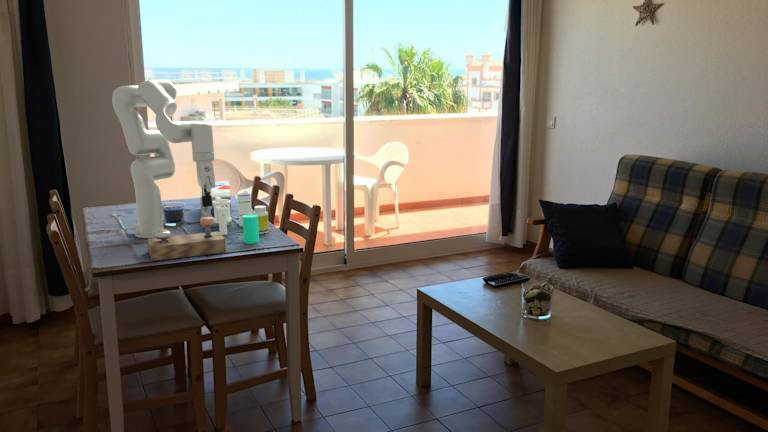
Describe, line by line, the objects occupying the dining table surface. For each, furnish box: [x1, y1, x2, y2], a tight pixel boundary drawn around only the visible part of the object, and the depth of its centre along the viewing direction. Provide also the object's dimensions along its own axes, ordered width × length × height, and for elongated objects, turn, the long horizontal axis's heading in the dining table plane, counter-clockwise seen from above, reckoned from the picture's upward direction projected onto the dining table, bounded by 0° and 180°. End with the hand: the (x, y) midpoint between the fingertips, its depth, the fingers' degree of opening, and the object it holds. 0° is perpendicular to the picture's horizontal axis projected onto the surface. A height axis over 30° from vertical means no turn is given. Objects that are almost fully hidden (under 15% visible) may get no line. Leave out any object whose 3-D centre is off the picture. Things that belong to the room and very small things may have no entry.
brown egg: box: [199, 217, 214, 238], centre depth 239 cm, size 5×5×7 cm
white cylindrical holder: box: [213, 197, 233, 236], centre depth 262 cm, size 7×7×15 cm
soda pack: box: [199, 179, 233, 228], centre depth 293 cm, size 41×13×14 cm, turn 14°
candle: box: [242, 213, 260, 245], centre depth 251 cm, size 6×6×12 cm
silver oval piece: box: [156, 229, 171, 243], centre depth 233 cm, size 5×5×7 cm
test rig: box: [146, 231, 227, 262], centre depth 237 cm, size 26×12×5 cm, turn 116°
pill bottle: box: [252, 205, 270, 235], centre depth 265 cm, size 6×6×11 cm
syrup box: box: [236, 190, 253, 227], centre depth 277 cm, size 6×6×14 cm
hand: (207, 206), depth 237 cm, fingers closed
